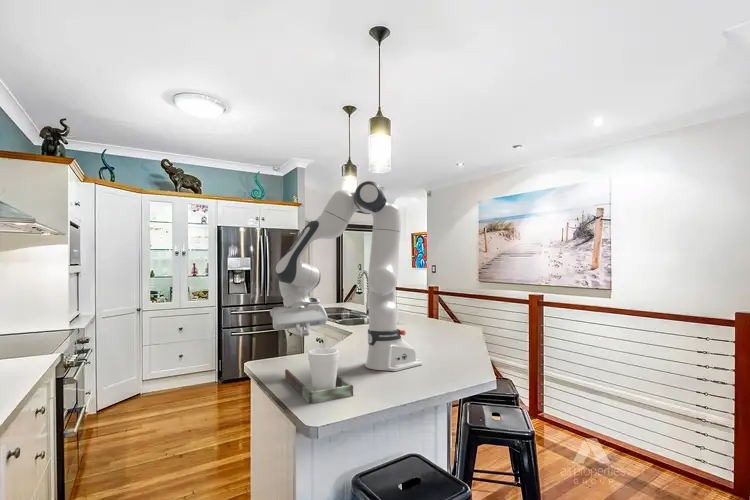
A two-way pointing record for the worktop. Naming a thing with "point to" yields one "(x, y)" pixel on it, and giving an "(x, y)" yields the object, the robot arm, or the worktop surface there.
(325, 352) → the foam cup
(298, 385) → the channel
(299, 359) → the worktop surface
